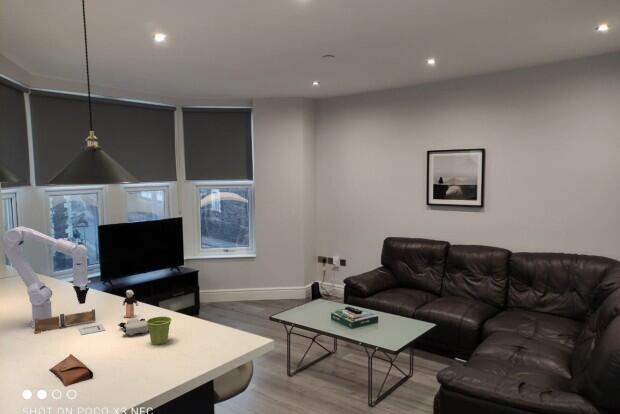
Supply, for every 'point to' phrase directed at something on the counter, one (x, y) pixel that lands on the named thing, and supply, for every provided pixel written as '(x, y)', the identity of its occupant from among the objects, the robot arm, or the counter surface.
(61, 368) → the sunglasses case
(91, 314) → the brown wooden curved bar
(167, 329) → the plant pot
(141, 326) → the robot toy
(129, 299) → the grandmother figurine
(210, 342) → the counter surface
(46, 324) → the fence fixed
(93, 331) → the card
